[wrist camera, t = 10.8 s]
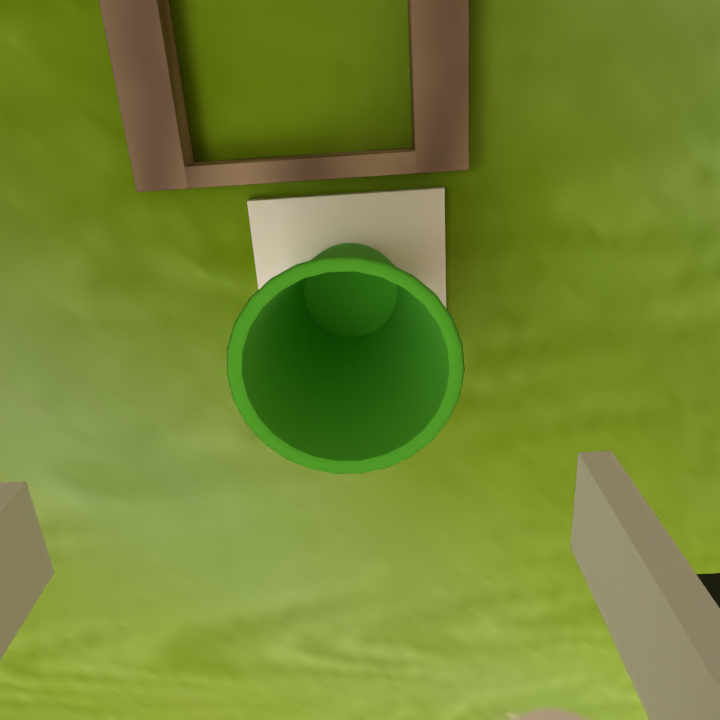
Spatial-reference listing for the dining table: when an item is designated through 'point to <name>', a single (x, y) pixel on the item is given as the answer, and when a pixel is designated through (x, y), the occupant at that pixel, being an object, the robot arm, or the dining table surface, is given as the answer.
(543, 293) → the dining table surface
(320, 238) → the coaster
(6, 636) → the robot arm
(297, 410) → the cup
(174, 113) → the board
